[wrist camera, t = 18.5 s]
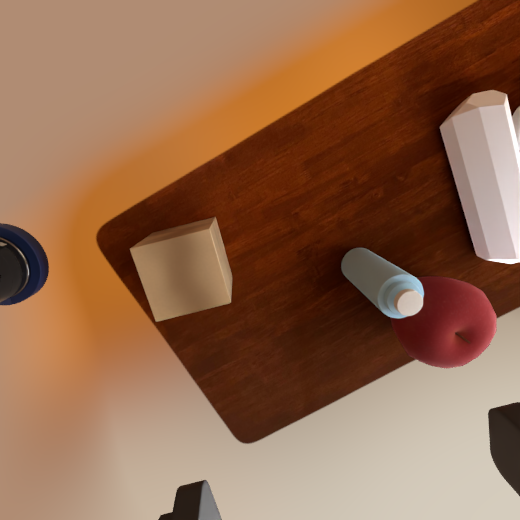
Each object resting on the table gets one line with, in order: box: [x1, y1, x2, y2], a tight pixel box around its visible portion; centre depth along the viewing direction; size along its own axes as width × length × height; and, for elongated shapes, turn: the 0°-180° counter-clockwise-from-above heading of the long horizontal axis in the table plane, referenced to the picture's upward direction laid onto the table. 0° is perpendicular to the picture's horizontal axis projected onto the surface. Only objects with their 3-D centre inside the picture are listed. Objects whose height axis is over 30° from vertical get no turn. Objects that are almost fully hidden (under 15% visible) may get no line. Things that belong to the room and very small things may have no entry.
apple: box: [390, 276, 496, 368], centre depth 44 cm, size 12×12×13 cm
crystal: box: [440, 90, 520, 264], centre depth 44 cm, size 7×7×24 cm
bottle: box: [341, 248, 424, 318], centre depth 41 cm, size 5×5×15 cm
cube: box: [130, 217, 232, 322], centre depth 41 cm, size 9×9×10 cm
